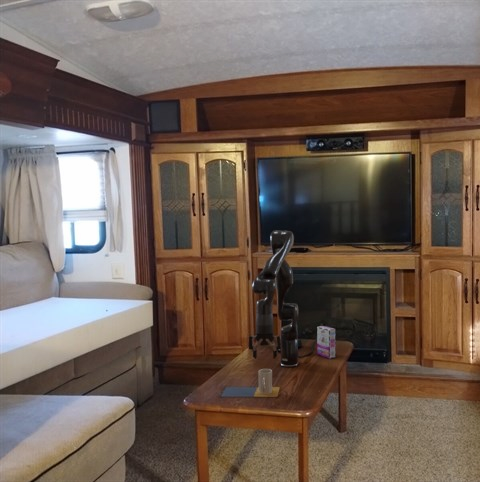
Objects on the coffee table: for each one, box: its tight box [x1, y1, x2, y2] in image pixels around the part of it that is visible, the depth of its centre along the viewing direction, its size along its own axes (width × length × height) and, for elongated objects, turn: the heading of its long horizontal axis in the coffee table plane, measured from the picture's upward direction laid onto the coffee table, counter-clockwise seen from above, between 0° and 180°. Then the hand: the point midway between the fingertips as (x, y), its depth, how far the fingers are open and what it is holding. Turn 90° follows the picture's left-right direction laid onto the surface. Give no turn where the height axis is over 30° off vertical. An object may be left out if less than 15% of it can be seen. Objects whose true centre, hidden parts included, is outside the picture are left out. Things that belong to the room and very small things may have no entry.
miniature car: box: [277, 338, 303, 352], centre depth 263 cm, size 9×18×8 cm, turn 156°
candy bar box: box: [316, 325, 337, 360], centre depth 250 cm, size 11×5×16 cm, turn 41°
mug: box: [257, 368, 273, 394], centre depth 196 cm, size 9×6×10 cm
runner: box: [220, 386, 281, 398], centre depth 197 cm, size 11×25×1 cm, turn 90°
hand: (265, 358), depth 197 cm, fingers open, 8 cm apart
